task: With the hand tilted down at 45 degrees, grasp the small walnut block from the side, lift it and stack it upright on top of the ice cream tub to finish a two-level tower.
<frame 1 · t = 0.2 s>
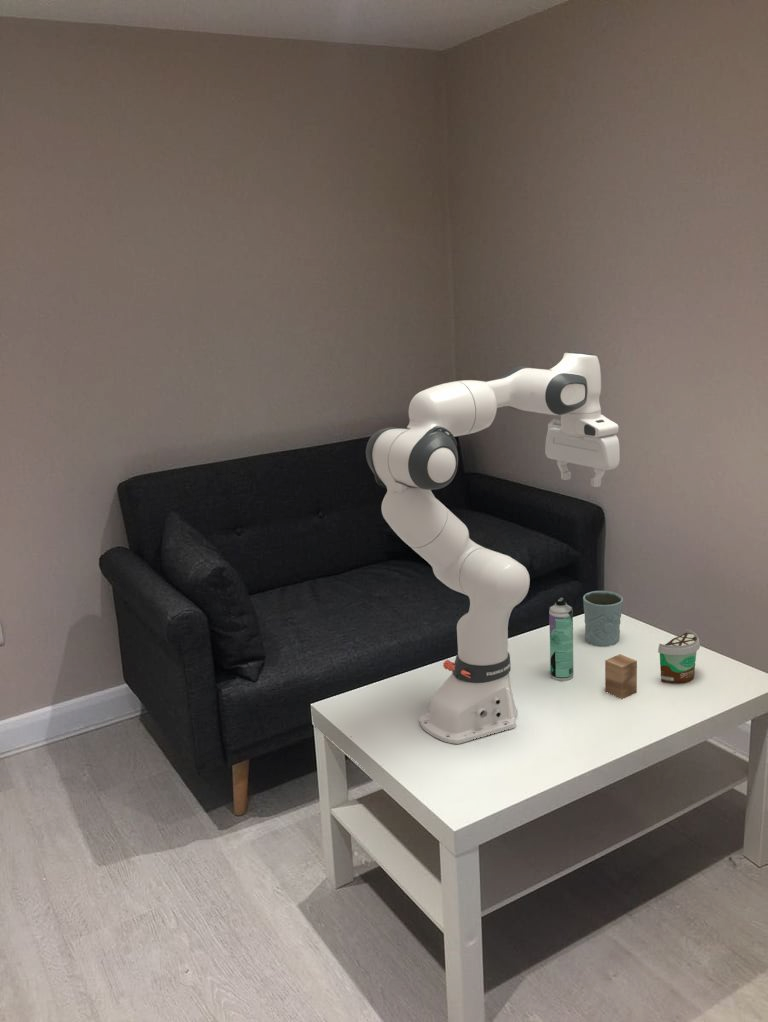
hand: (580, 482, 211), 48 cm above the table, tool pointing down, fingers open, 8 cm apart
walnut block: (620, 692, 212), on the table
spray can: (561, 676, 222), on the table
ice cream tub: (683, 679, 217), on the table
plant pot: (603, 640, 241), on the table
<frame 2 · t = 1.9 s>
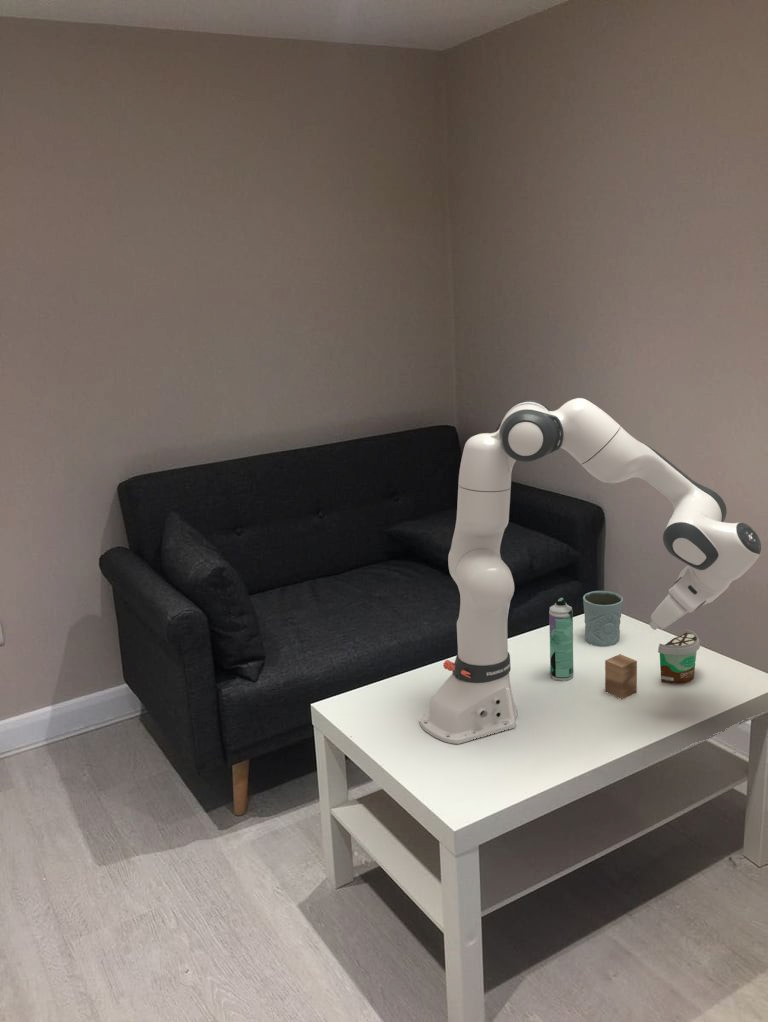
hand: (663, 617, 202), 20 cm above the table, tool tilted 40°, fingers open, 8 cm apart
nothing on the table moved.
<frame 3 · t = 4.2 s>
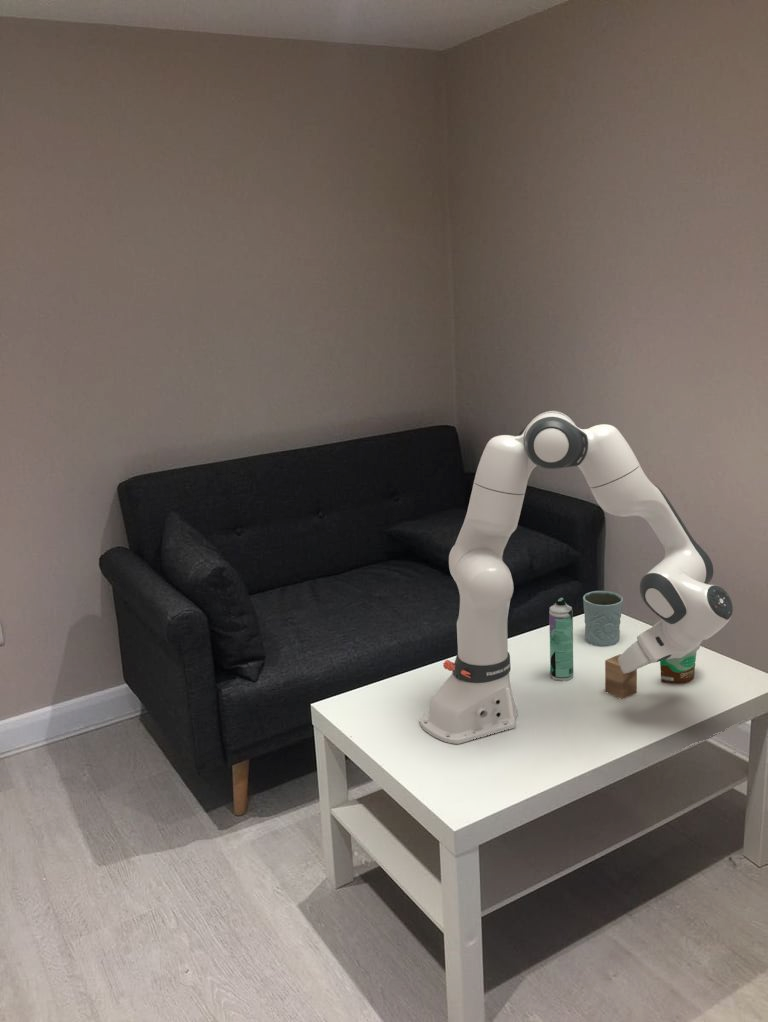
hand: (638, 663, 206), 9 cm above the table, tool tilted 45°, fingers open, 8 cm apart
nothing on the table moved.
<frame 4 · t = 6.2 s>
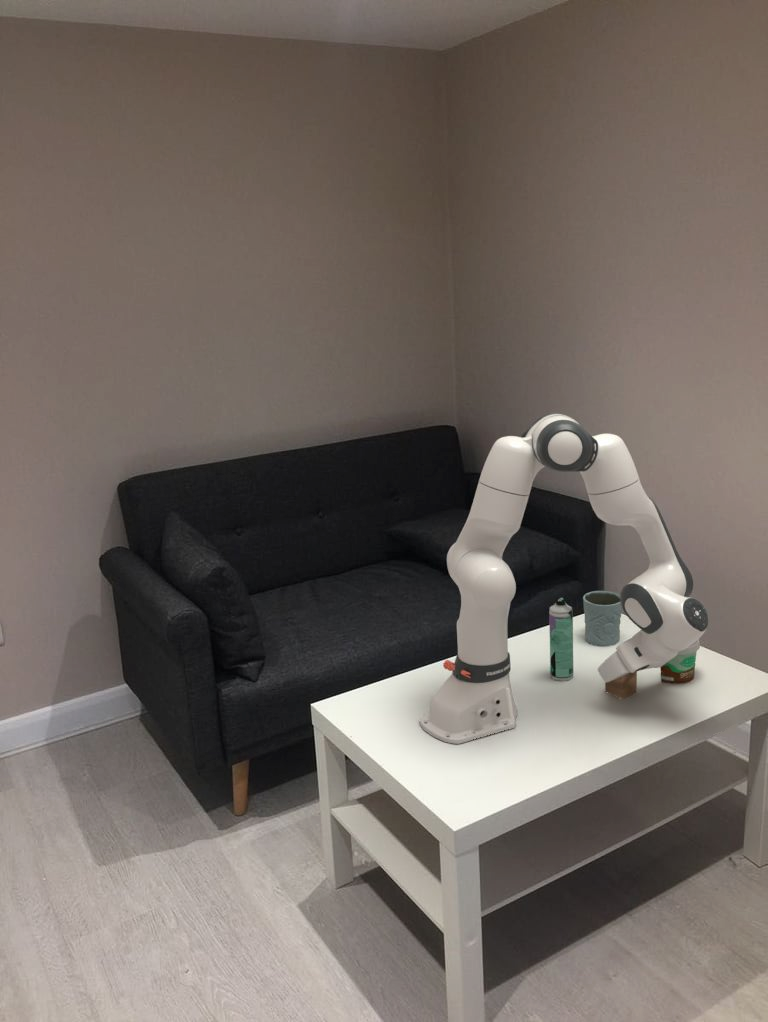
hand: (618, 673, 212), 5 cm above the table, tool tilted 45°, fingers closed on walnut block, 5 cm apart
walnut block: (620, 692, 212), on the table, touching gripper
everything else where it was.
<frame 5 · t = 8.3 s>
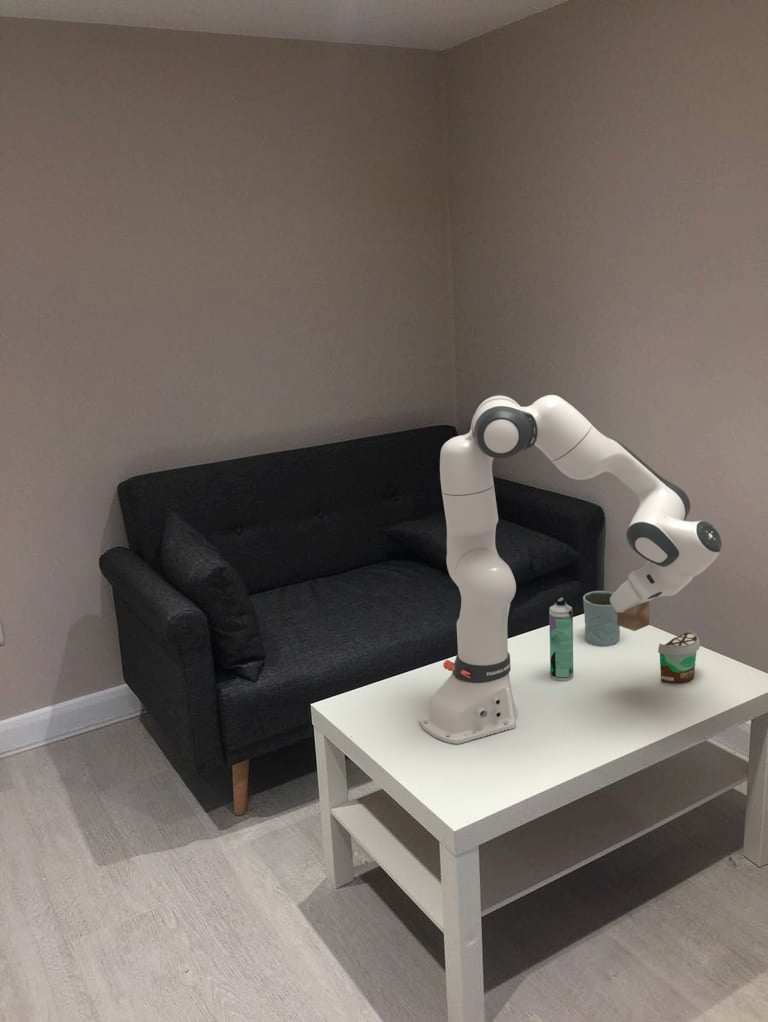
hand: (631, 605, 208), 21 cm above the table, tool tilted 45°, fingers closed on walnut block, 5 cm apart
walnut block: (633, 624, 209), point 16 cm above the table, touching gripper
everything else where it was.
when the fingers open (16 cm above the table, at t = 10.7 s): walnut block stays where it is, resting on ice cream tub.
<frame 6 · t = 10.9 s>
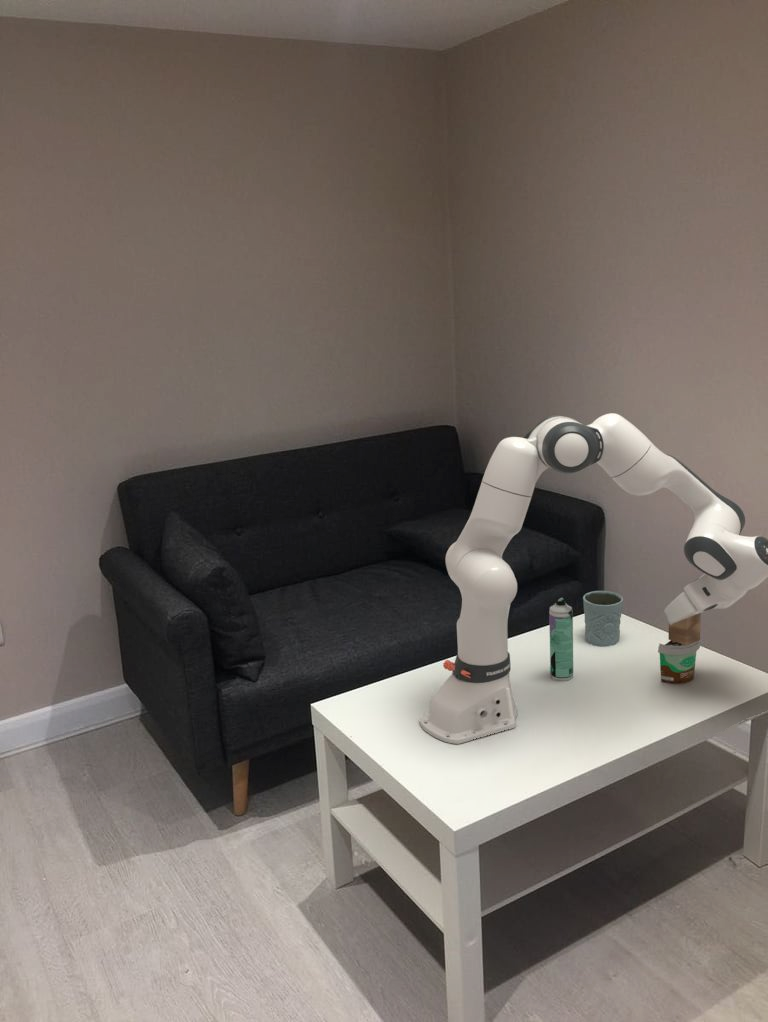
hand: (682, 616, 213), 16 cm above the table, tool tilted 45°, fingers open, 7 cm apart
walnut block: (684, 639, 214), point 10 cm above the table, touching ice cream tub
ice cream tub: (683, 679, 217), on the table, touching walnut block
everything else where it was.
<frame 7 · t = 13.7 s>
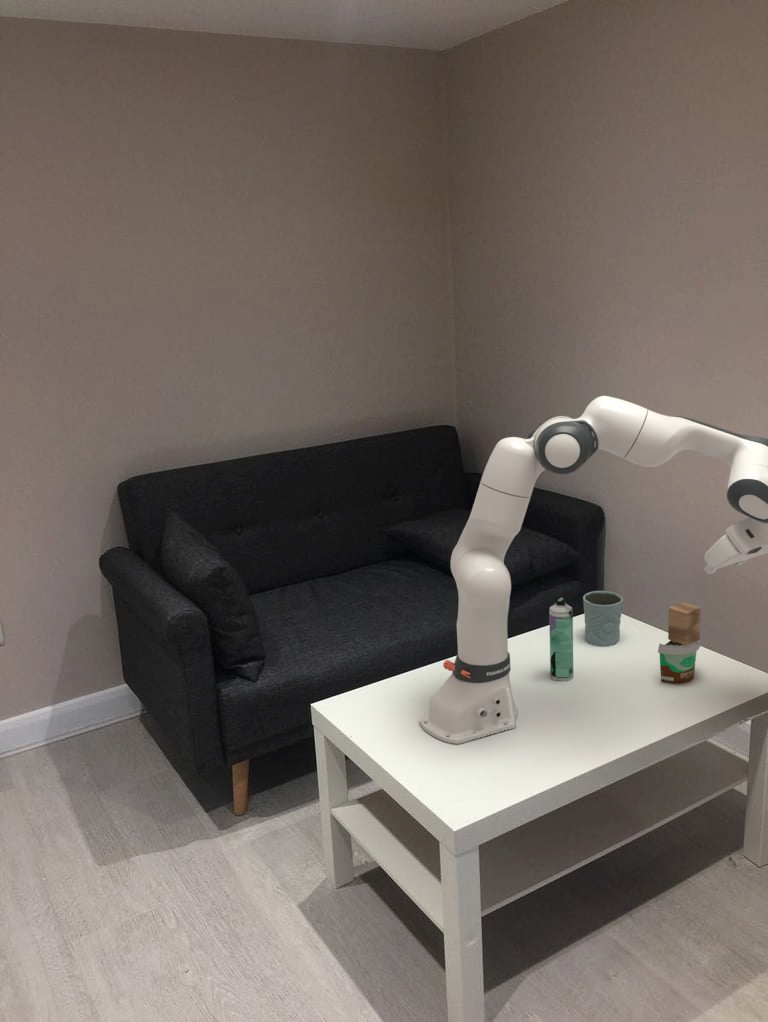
hand: (721, 566, 202), 30 cm above the table, tool tilted 45°, fingers open, 8 cm apart
nothing on the table moved.
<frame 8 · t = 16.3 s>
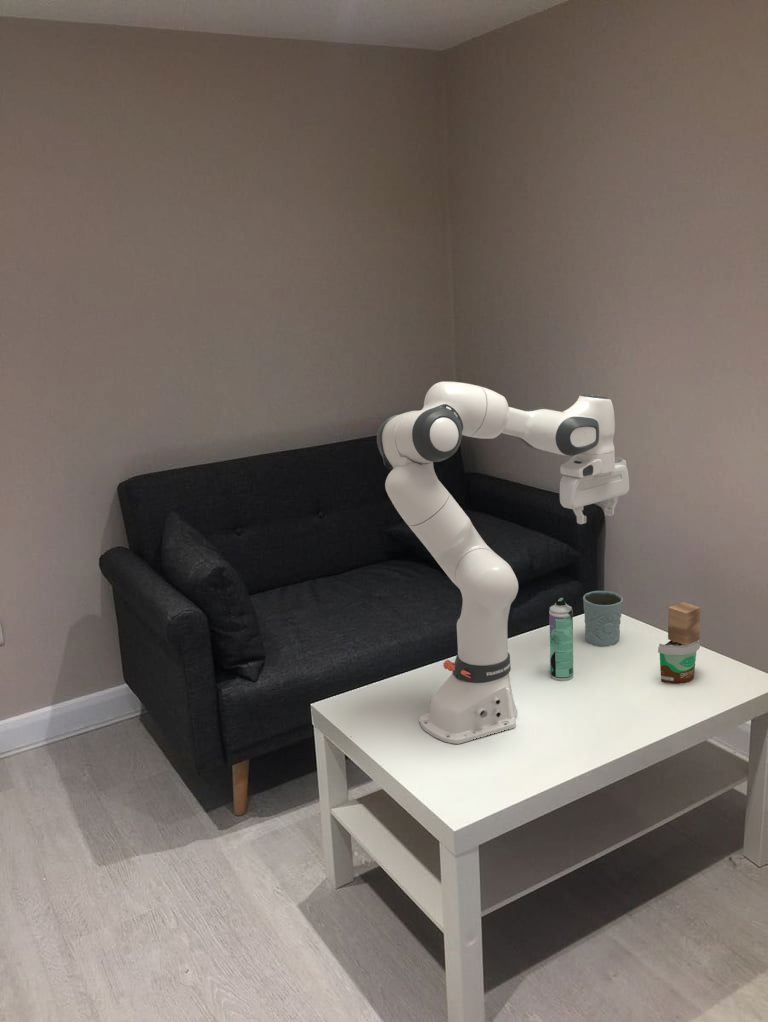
hand: (595, 519, 219), 37 cm above the table, tool pointing down, fingers open, 8 cm apart
nothing on the table moved.
at the end: walnut block inside the target area on the ice cream tub (0.1 cm from its centre), point 10.2 cm above the ice cream tub's base; walnut block tilted 0°; the gripper is holding nothing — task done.
